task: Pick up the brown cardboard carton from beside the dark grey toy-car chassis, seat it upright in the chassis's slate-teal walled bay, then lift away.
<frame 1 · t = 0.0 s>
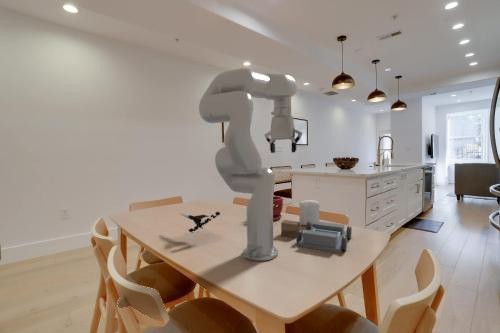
hand: (283, 152, 108), 37 cm above the table, tool pointing down, fingers open, 9 cm apart
chassis: (325, 240, 102), on the table
brown cardboard carton: (290, 235, 109), on the table
plant pot: (271, 218, 138), on the table
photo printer: (309, 224, 125), on the table
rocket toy: (192, 237, 110), on the table
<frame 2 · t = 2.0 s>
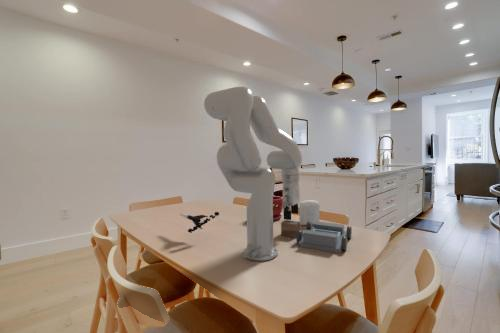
hand: (291, 216, 110), 8 cm above the table, tool pointing down, fingers open, 9 cm apart
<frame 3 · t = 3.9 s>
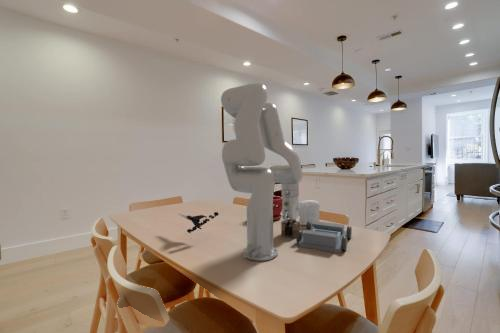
hand: (290, 233, 109), 1 cm above the table, tool pointing down, fingers closed on brown cardboard carton, 4 cm apart
brown cardboard carton: (290, 235, 109), on the table, touching gripper
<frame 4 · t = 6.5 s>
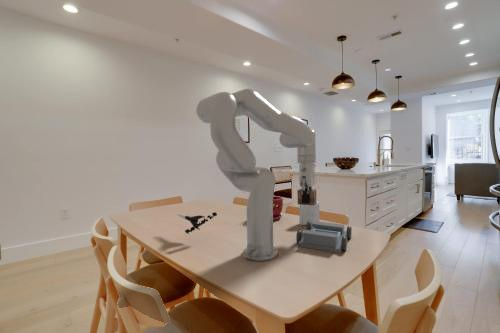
hand: (307, 201, 105), 16 cm above the table, tool pointing down, fingers closed on brown cardboard carton, 4 cm apart
brown cardboard carton: (307, 203, 105), point 15 cm above the table, touching gripper
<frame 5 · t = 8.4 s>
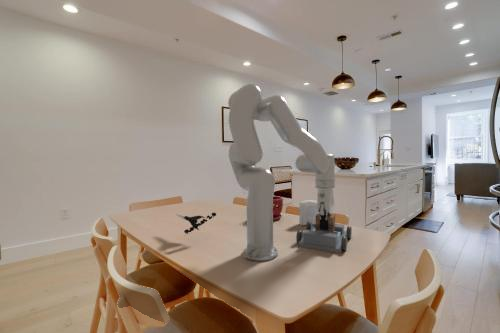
hand: (325, 227, 102), 6 cm above the table, tool pointing down, fingers closed on brown cardboard carton, 4 cm apart
brown cardboard carton: (325, 229, 102), point 5 cm above the table, touching gripper
when the fingers open (3 cm above the table, at t = 9.5 s): brown cardboard carton stays where it is, resting on chassis.
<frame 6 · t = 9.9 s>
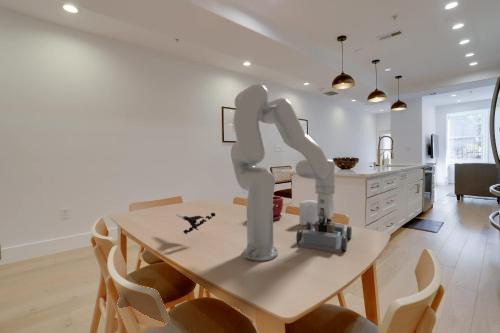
hand: (325, 231, 102), 4 cm above the table, tool pointing down, fingers open, 8 cm apart
brown cardboard carton: (324, 236, 102), point 1 cm above the table, touching chassis
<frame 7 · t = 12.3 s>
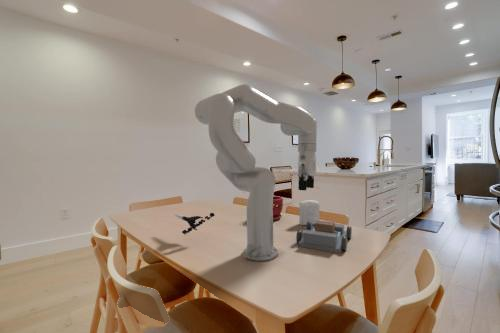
hand: (306, 188, 104), 21 cm above the table, tool pointing down, fingers open, 9 cm apart
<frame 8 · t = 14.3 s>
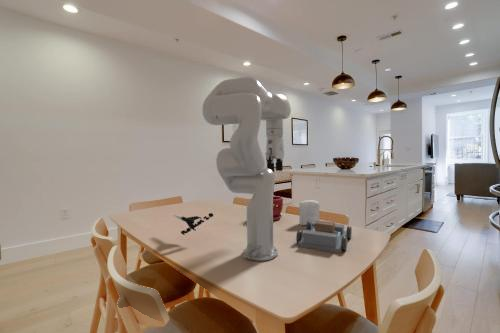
hand: (275, 171, 111), 28 cm above the table, tool pointing down, fingers open, 9 cm apart
at the end: brown cardboard carton 0.1 cm off-centre on the chassis, point 1.5 cm above the chassis's base; brown cardboard carton tilted 0°; the gripper is holding nothing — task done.
